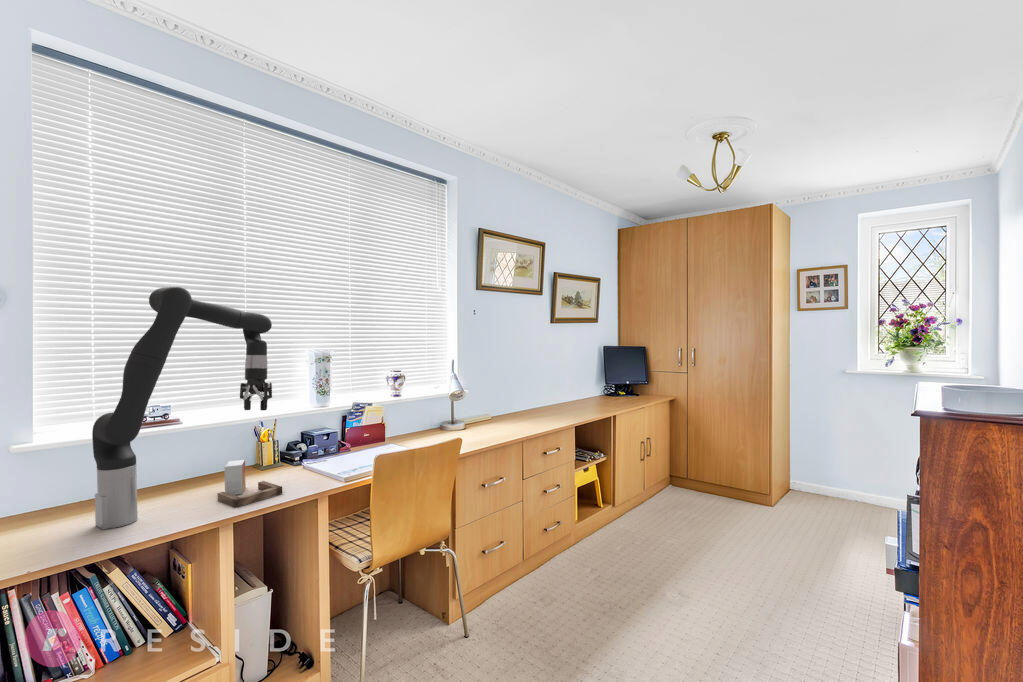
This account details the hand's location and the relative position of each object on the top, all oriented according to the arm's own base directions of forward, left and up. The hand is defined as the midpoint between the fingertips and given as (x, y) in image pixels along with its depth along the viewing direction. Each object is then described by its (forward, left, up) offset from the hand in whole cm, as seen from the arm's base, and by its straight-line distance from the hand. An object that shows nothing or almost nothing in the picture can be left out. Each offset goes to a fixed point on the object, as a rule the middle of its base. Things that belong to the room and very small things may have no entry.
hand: (255, 410), depth 182 cm
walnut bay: (-9, -13, -28) cm, 32 cm away
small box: (-9, -3, -28) cm, 30 cm away
